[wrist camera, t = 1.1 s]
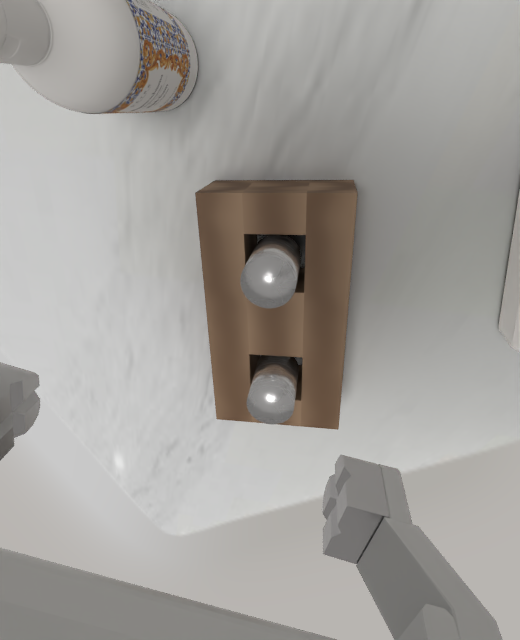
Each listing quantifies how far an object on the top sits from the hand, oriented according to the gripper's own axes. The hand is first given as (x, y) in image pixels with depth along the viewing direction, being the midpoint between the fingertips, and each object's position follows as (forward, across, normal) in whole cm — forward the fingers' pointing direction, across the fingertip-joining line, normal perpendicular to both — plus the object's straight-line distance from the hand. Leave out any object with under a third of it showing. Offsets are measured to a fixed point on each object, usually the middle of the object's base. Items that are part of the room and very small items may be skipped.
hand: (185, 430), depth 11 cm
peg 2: (+25, -4, +14) cm, 29 cm away
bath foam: (+29, +12, -9) cm, 33 cm away
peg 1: (+25, -1, +3) cm, 25 cm away
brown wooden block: (+29, -2, +8) cm, 30 cm away
